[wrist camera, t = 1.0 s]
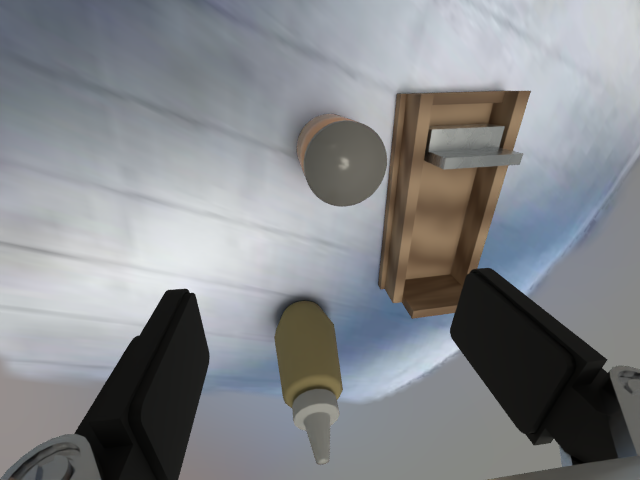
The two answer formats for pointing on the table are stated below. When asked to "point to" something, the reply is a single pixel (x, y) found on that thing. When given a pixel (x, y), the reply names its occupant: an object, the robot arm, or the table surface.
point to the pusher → (468, 147)
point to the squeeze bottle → (310, 372)
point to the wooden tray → (440, 199)
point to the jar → (341, 159)
